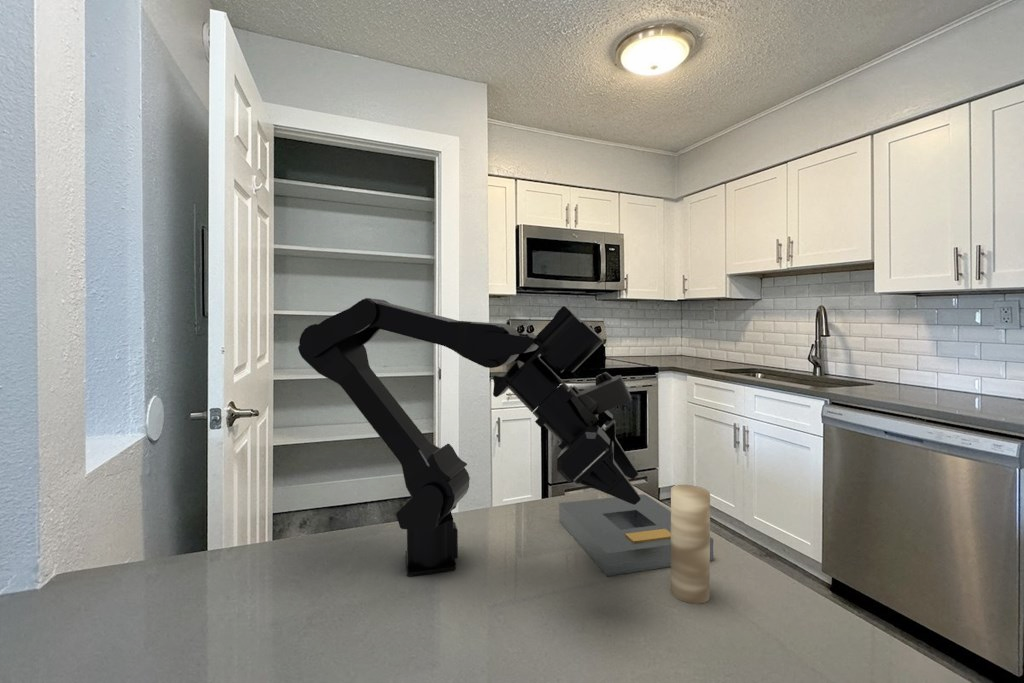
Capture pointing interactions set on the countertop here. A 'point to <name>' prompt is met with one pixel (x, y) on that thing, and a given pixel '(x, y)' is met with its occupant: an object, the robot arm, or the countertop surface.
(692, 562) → the barrel peg
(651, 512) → the grey peg hole board
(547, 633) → the countertop surface
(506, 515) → the countertop surface
